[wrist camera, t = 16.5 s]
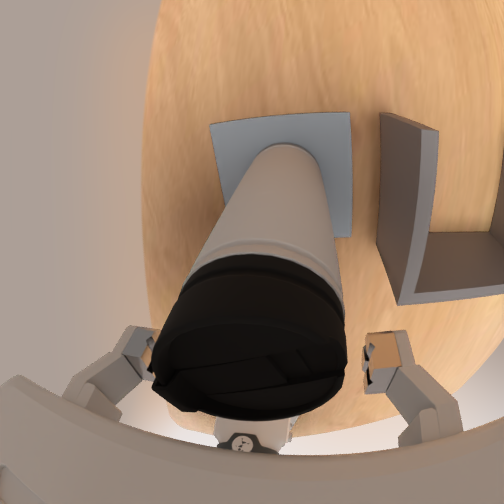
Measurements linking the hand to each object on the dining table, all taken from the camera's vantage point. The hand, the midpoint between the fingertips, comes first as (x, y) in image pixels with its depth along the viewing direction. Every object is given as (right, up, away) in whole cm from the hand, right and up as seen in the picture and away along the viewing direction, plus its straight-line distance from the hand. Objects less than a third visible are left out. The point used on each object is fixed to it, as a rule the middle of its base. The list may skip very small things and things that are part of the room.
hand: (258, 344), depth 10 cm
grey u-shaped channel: (+19, +11, +11) cm, 25 cm away
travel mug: (+3, +10, +14) cm, 17 cm away
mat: (+3, +10, +14) cm, 18 cm away
